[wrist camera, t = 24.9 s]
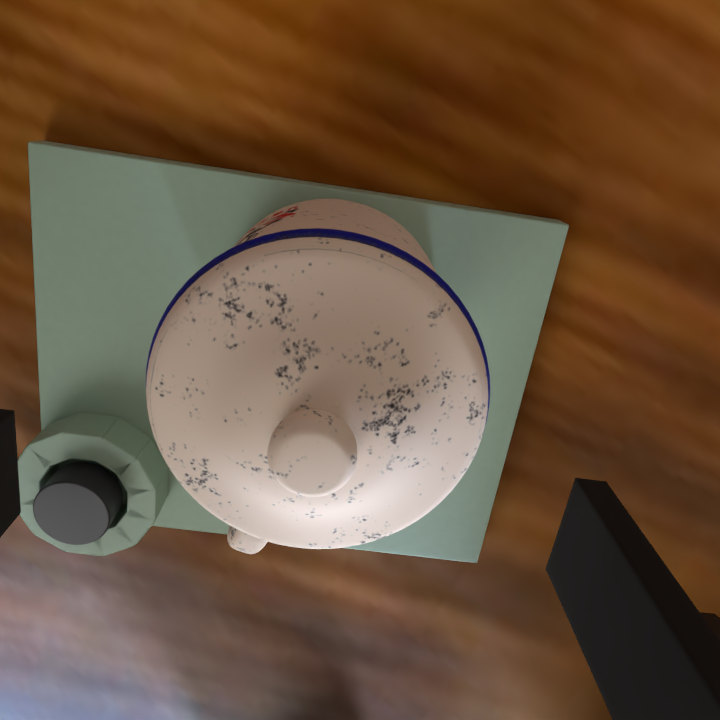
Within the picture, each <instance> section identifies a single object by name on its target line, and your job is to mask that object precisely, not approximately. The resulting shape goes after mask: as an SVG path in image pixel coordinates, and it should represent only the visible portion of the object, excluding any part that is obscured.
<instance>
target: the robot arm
mask: <svg viewBox="0 0 720 720" xmlns="http://www.w3.org/2000/svg"><path fill="white" fill-rule="evenodd" d="M20 513H21V505H20V490H19V474H18V459H17V444H16V429H15V414H14V411H13V410H5V409H0V537H1V536H2V535H3V533H4V532H5V531H6V530H7V529H8V527H9V526H10V525H11V524H12V522H13V521H14V520H15V519H16V518H17V516H18V515H19V514H20ZM546 570H547V572H548V575H549V577H550V579H551V581H552V584H553V586H554V588H555V591H556V593H557V595H558V597H559V600H560V602H561V604H562V606H563V609H564V611H565V613H566V615H567V618H568V620H569V622H570V624H571V627H572V629H573V631H574V633H575V636H576V638H577V640H578V642H579V645H580V647H581V649H582V652H583V654H584V656H585V658H586V661H587V663H588V665H589V667H590V670H591V672H592V674H593V676H594V679H595V681H596V683H597V685H598V688H599V690H600V692H601V694H602V697H603V699H604V701H605V703H606V706H607V708H608V710H609V713H610V715H611V717H612V719H613V720H720V618H719V617H718V616H717V615H715V614H711V613H701V612H699V611H698V610H697V608H696V607H695V606H694V604H693V603H692V601H691V600H690V599H689V597H688V596H687V594H686V593H685V592H684V590H683V589H682V587H681V586H680V585H679V583H678V582H677V580H676V579H675V578H674V576H673V575H672V573H671V572H670V571H669V569H668V568H667V566H666V565H665V564H664V562H663V561H662V559H661V558H660V557H659V555H658V554H657V552H656V551H655V550H654V548H653V547H652V545H651V544H650V543H649V541H648V540H647V538H646V537H645V536H644V534H643V533H642V531H641V530H640V529H639V527H638V526H637V524H636V523H635V522H634V520H633V519H632V517H631V516H630V515H629V513H628V512H627V510H626V509H625V508H624V506H623V505H622V503H621V502H620V501H619V499H618V498H617V496H616V495H615V493H614V492H613V491H612V489H611V488H610V486H609V485H608V484H607V482H605V481H597V480H589V479H580V478H575V481H574V484H573V487H572V490H571V493H570V496H569V499H568V503H567V506H566V509H565V512H564V515H563V518H562V521H561V524H560V527H559V530H558V533H557V536H556V539H555V542H554V545H553V548H552V552H551V555H550V558H549V561H548V564H547V567H546Z"/></svg>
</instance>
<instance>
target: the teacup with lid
mask: <svg viewBox="0 0 720 720" xmlns="http://www.w3.org/2000/svg"><path fill="white" fill-rule="evenodd" d="M146 399H147V409H148V415H149V421H150V424H151V428H152V431H153V435H154V438H155V440H156V443H157V445H158V448H159V450H160V452H161V454H162V456H163V458H164V460H165V462H166V463H167V465H168V467H169V468H170V470H171V471H172V473H173V474H174V476H175V477H176V479H177V480H178V481H179V482H180V484H181V485H182V486H183V487H184V489H185V490H186V491H187V492H188V493H189V494H190V495H191V496H192V497H193V498H194V499H195V500H196V501H197V502H198V503H199V504H200V505H202V506H203V507H204V508H205V509H206V510H207V511H209V512H210V513H211V514H213V515H214V516H216V517H217V518H218V519H220V520H222V521H223V522H225V523H227V524H228V525H230V526H229V530H228V535H227V539H228V543H229V545H230V546H231V547H232V548H233V549H235V550H238V551H241V552H244V553H247V554H255V553H257V552H259V551H260V550H261V549H262V548H263V547H264V546H265V545H266V543H267V542H272V543H276V544H280V545H285V546H290V547H298V548H309V549H333V548H342V547H350V546H355V545H360V544H364V543H368V542H372V541H375V540H378V539H381V538H384V537H386V536H389V535H391V534H394V533H396V532H398V531H400V530H402V529H404V528H406V527H407V526H409V525H411V524H413V523H414V522H416V521H417V520H419V519H420V518H422V517H423V516H425V515H426V514H427V513H429V512H430V511H431V510H432V509H433V508H435V507H436V506H437V505H438V504H439V503H440V502H441V501H442V500H443V499H444V498H445V497H446V496H447V495H448V494H449V493H450V492H451V491H452V490H453V489H454V487H455V486H456V485H457V484H458V482H459V481H460V480H461V478H462V477H463V475H464V474H465V472H466V471H467V469H468V468H469V466H470V464H471V462H472V460H473V458H474V456H475V454H476V452H477V449H478V447H479V444H480V442H481V439H482V435H483V432H484V428H485V425H486V421H487V416H488V410H489V404H490V374H489V367H488V361H487V356H486V352H485V349H484V345H483V342H482V339H481V337H480V334H479V332H478V329H477V327H476V325H475V323H474V321H473V319H472V317H471V315H470V313H469V312H468V310H467V309H466V307H465V306H464V304H463V303H462V301H461V300H460V298H459V297H458V296H457V295H456V294H455V292H454V291H453V290H452V289H451V287H450V286H449V285H448V284H447V283H446V282H445V281H444V280H443V279H442V278H441V277H440V276H439V275H438V274H437V273H436V272H435V270H434V268H433V266H432V264H431V262H430V261H429V259H428V257H427V255H426V253H425V252H424V250H423V249H422V247H421V246H420V244H419V243H418V242H417V241H416V239H415V238H414V237H413V236H412V235H411V234H410V233H409V232H408V231H407V230H406V229H405V228H404V227H403V226H402V225H400V224H399V223H398V222H397V221H395V220H394V219H392V218H391V217H389V216H388V215H386V214H384V213H382V212H380V211H378V210H376V209H374V208H372V207H369V206H367V205H364V204H360V203H357V202H353V201H347V200H341V199H314V200H307V201H302V202H298V203H294V204H292V205H289V206H286V207H283V208H281V209H279V210H277V211H275V212H273V213H271V214H270V215H268V216H266V217H264V218H263V219H262V220H260V221H259V222H258V223H256V224H255V225H254V226H253V227H252V228H251V229H250V230H249V231H248V232H247V233H246V234H245V235H244V236H243V237H242V238H241V239H240V240H239V241H238V242H237V243H236V244H235V245H234V246H233V248H231V249H229V250H227V251H226V252H224V253H222V254H220V255H219V256H217V257H215V258H214V259H213V260H211V261H210V262H209V263H207V264H206V265H205V266H203V267H202V268H201V269H200V270H198V271H197V272H196V273H195V274H194V275H193V276H192V277H191V278H190V279H189V280H188V281H187V282H186V283H185V284H184V285H183V286H182V288H181V289H180V290H179V291H178V292H177V293H176V295H175V296H174V298H173V299H172V301H171V302H170V304H169V305H168V306H167V308H166V310H165V312H164V314H163V316H162V318H161V319H160V321H159V324H158V326H157V329H156V331H155V333H154V336H153V339H152V343H151V346H150V350H149V354H148V361H147V367H146Z"/></svg>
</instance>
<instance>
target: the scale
mask: <svg viewBox="0 0 720 720" xmlns="http://www.w3.org/2000/svg"><path fill="white" fill-rule="evenodd" d="M28 157H29V179H30V200H31V221H32V243H33V264H34V286H35V307H36V328H37V350H38V371H39V392H40V414H41V432H40V433H39V434H38V435H37V436H36V437H35V438H34V439H33V440H32V441H31V442H30V443H29V444H28V445H27V446H26V448H25V449H24V451H23V452H22V454H21V455H20V457H19V458H18V474H19V490H20V505H21V513H20V514H19V515H20V516H21V518H22V519H23V520H24V522H25V523H26V524H27V526H28V527H29V529H30V530H31V531H32V532H33V534H34V535H36V536H38V537H40V538H41V539H43V540H45V541H47V542H49V543H50V544H52V545H54V546H56V547H57V548H59V549H61V550H63V551H65V552H66V551H67V552H71V553H80V554H89V555H98V556H106V555H109V554H112V553H115V552H118V551H121V550H124V549H126V548H129V547H132V546H135V545H136V544H137V543H138V542H139V541H140V540H141V538H142V537H143V536H144V535H145V534H146V532H147V531H148V530H149V529H150V527H151V526H159V527H168V528H176V529H185V530H194V531H202V532H211V533H220V534H228V530H229V526H230V525H228V524H227V523H225V522H223V521H222V520H220V519H218V518H217V517H216V516H214V515H213V514H211V513H210V512H209V511H207V510H206V509H205V508H204V507H203V506H202V505H200V504H199V503H198V502H197V501H196V500H195V499H194V498H193V497H192V496H191V495H190V494H189V493H188V492H187V491H186V490H185V489H184V487H183V486H182V485H181V484H180V482H179V481H178V480H177V479H176V477H175V476H174V474H173V473H172V471H171V470H170V468H169V467H168V465H167V463H166V462H165V460H164V458H163V456H162V454H161V452H160V450H159V448H158V445H157V443H156V440H155V438H154V435H153V431H152V428H151V424H150V421H149V415H148V409H147V399H146V367H147V361H148V354H149V350H150V346H151V343H152V339H153V336H154V333H155V331H156V329H157V326H158V324H159V321H160V319H161V318H162V316H163V314H164V312H165V310H166V308H167V306H168V305H169V304H170V302H171V301H172V299H173V298H174V296H175V295H176V293H177V292H178V291H179V290H180V289H181V288H182V286H183V285H184V284H185V283H186V282H187V281H188V280H189V279H190V278H191V277H192V276H193V275H194V274H195V273H196V272H197V271H198V270H200V269H201V268H202V267H203V266H205V265H206V264H207V263H209V262H210V261H211V260H213V259H214V258H215V257H217V256H219V255H220V254H222V253H224V252H226V251H227V250H229V249H231V248H233V246H234V245H235V244H236V243H237V242H238V241H239V240H240V239H241V238H242V237H243V236H244V235H245V234H246V233H247V232H248V231H249V230H250V229H251V228H252V227H253V226H254V225H255V224H256V223H258V222H259V221H260V220H262V219H263V218H264V217H266V216H268V215H270V214H271V213H273V212H275V211H277V210H279V209H281V208H283V207H286V206H289V205H292V204H294V203H298V202H302V201H307V200H314V199H341V200H347V201H353V202H357V203H360V204H364V205H367V206H369V207H372V208H374V209H376V210H378V211H380V212H382V213H384V214H386V215H388V216H389V217H391V218H392V219H394V220H395V221H397V222H398V223H399V224H400V225H402V226H403V227H404V228H405V229H406V230H407V231H408V232H409V233H410V234H411V235H412V236H413V237H414V238H415V239H416V241H417V242H418V243H419V244H420V246H421V247H422V249H423V250H424V252H425V253H426V255H427V257H428V259H429V261H430V262H431V264H432V266H433V268H434V270H435V272H436V273H437V274H438V275H439V276H440V277H441V278H442V279H443V280H444V281H445V282H446V283H447V284H448V285H449V286H450V287H451V289H452V290H453V291H454V292H455V294H456V295H457V296H458V297H459V298H460V300H461V301H462V303H463V304H464V306H465V307H466V309H467V310H468V312H469V313H470V315H471V317H472V319H473V321H474V323H475V325H476V327H477V329H478V332H479V334H480V337H481V339H482V342H483V345H484V349H485V352H486V356H487V361H488V367H489V374H490V404H489V410H488V416H487V421H486V425H485V428H484V432H483V435H482V439H481V442H480V444H479V447H478V449H477V452H476V454H475V456H474V458H473V460H472V462H471V464H470V466H469V468H468V469H467V471H466V472H465V474H464V475H463V477H462V478H461V480H460V481H459V482H458V484H457V485H456V486H455V487H454V489H453V490H452V491H451V492H450V493H449V494H448V495H447V496H446V497H445V498H444V499H443V500H442V501H441V502H440V503H439V504H438V505H437V506H436V507H435V508H433V509H432V510H431V511H430V512H429V513H427V514H426V515H425V516H423V517H422V518H420V519H419V520H417V521H416V522H414V523H413V524H411V525H409V526H407V527H406V528H404V529H402V530H400V531H398V532H396V533H394V534H391V535H389V536H386V537H384V538H381V539H378V540H375V541H372V542H368V543H364V544H360V545H355V546H350V547H342V548H350V549H359V550H367V551H376V552H385V553H394V554H402V555H411V556H420V557H428V558H437V559H446V560H454V561H463V562H472V563H477V562H478V558H479V554H480V551H481V547H482V543H483V540H484V536H485V532H486V529H487V525H488V521H489V518H490V514H491V510H492V507H493V503H494V499H495V496H496V492H497V488H498V485H499V481H500V477H501V474H502V470H503V466H504V463H505V459H506V455H507V452H508V448H509V444H510V441H511V437H512V433H513V430H514V426H515V422H516V418H517V415H518V411H519V407H520V404H521V400H522V396H523V393H524V389H525V385H526V382H527V378H528V374H529V371H530V367H531V363H532V360H533V356H534V352H535V349H536V345H537V341H538V338H539V334H540V330H541V327H542V323H543V319H544V316H545V312H546V308H547V305H548V301H549V297H550V294H551V290H552V286H553V283H554V279H555V275H556V272H557V268H558V264H559V261H560V257H561V253H562V250H563V246H564V242H565V239H566V235H567V231H568V228H569V225H568V224H566V223H564V222H562V221H560V220H557V219H550V218H544V217H537V216H531V215H524V214H518V213H511V212H505V211H498V210H492V209H485V208H479V207H472V206H466V205H459V204H453V203H446V202H440V201H433V200H427V199H420V198H414V197H407V196H401V195H394V194H388V193H381V192H375V191H368V190H362V189H355V188H349V187H342V186H336V185H329V184H323V183H316V182H310V181H303V180H297V179H290V178H284V177H277V176H271V175H264V174H258V173H251V172H245V171H238V170H232V169H225V168H219V167H212V166H206V165H199V164H193V163H186V162H180V161H173V160H167V159H160V158H154V157H147V156H141V155H134V154H128V153H121V152H115V151H108V150H102V149H95V148H89V147H82V146H76V145H69V144H63V143H56V142H50V141H31V142H28ZM72 462H90V463H94V464H97V465H100V466H102V467H104V468H105V469H107V470H108V471H110V472H111V473H112V474H113V475H114V476H115V477H116V479H117V480H118V481H119V483H120V485H121V488H122V492H123V502H122V506H121V508H120V510H119V511H118V513H117V515H116V516H115V518H114V520H113V521H112V523H111V525H110V526H109V528H108V530H107V531H106V533H105V534H104V535H103V536H102V537H101V538H99V539H98V540H96V541H94V542H91V543H88V544H83V545H72V544H66V543H63V542H60V541H57V540H55V539H53V538H52V537H50V536H49V535H48V534H46V533H45V532H44V531H43V530H42V529H41V528H40V526H39V525H38V523H37V522H36V520H35V517H34V513H33V503H34V499H35V497H36V495H37V493H38V492H39V491H40V490H41V489H42V487H43V486H44V485H45V484H46V483H47V481H48V480H49V479H50V478H51V477H52V476H53V474H54V473H55V472H56V471H57V470H58V469H59V468H61V467H62V466H64V465H66V464H69V463H72Z"/></svg>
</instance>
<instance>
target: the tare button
mask: <svg viewBox="0 0 720 720" xmlns="http://www.w3.org/2000/svg"><path fill="white" fill-rule="evenodd" d="M122 502H123V492H122V488H121V485H120V483H119V481H118V480H117V479H116V477H115V476H114V475H113V474H112V473H111V472H110V471H108V470H107V469H105V468H104V467H102V466H100V465H97V464H94V463H90V462H72V463H69V464H66V465H64V466H62V467H61V468H59V469H58V470H57V471H56V472H55V473H54V474H53V476H52V477H51V478H50V479H49V480H48V481H47V483H46V484H45V485H44V486H43V487H42V489H41V490H40V491H39V492H38V493H37V495H36V497H35V499H34V503H33V513H34V517H35V520H36V522H37V523H38V525H39V526H40V528H41V529H42V530H43V531H44V532H45V533H46V534H48V535H49V536H50V537H52V538H53V539H55V540H57V541H60V542H63V543H66V544H72V545H83V544H88V543H91V542H94V541H96V540H98V539H99V538H101V537H102V536H103V535H104V534H105V533H106V531H107V530H108V528H109V526H110V525H111V523H112V521H113V520H114V518H115V516H116V515H117V513H118V511H119V510H120V508H121V506H122Z"/></svg>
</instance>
